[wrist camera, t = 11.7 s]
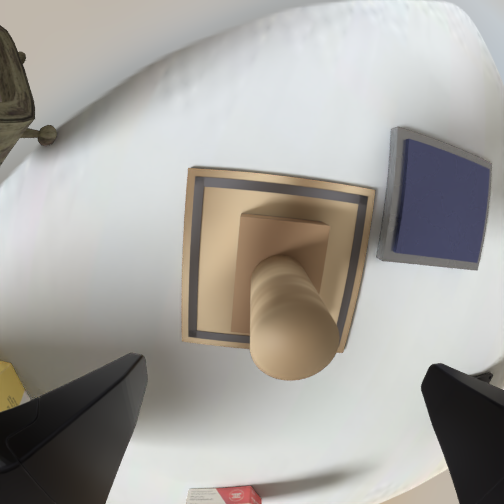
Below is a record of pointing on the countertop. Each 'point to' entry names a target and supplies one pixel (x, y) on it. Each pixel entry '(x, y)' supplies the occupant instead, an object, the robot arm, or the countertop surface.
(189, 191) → the marked card
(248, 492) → the ink cartridge box
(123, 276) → the countertop surface
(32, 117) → the tabletop clock
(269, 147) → the countertop surface
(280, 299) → the stamp
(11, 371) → the pasta box
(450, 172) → the ink pad
